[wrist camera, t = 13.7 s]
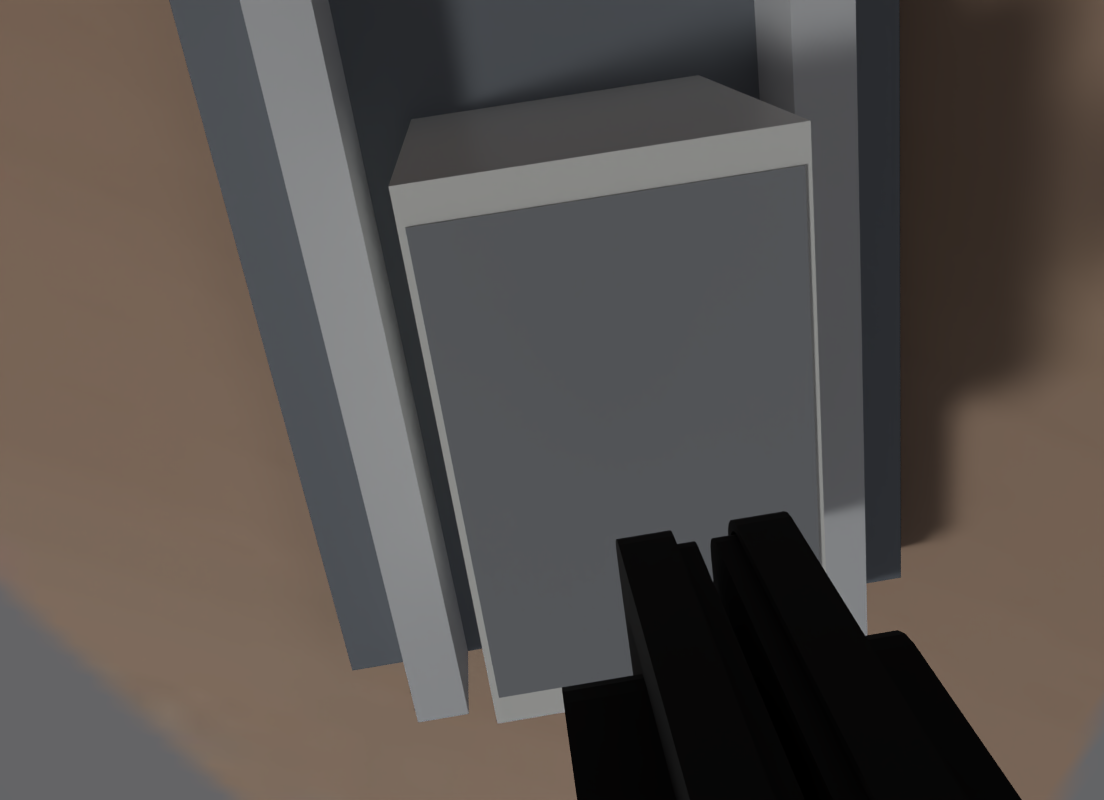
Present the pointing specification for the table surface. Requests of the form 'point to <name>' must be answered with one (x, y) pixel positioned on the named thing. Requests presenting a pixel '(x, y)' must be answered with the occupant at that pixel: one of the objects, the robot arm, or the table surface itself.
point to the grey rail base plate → (381, 282)
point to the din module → (609, 348)
